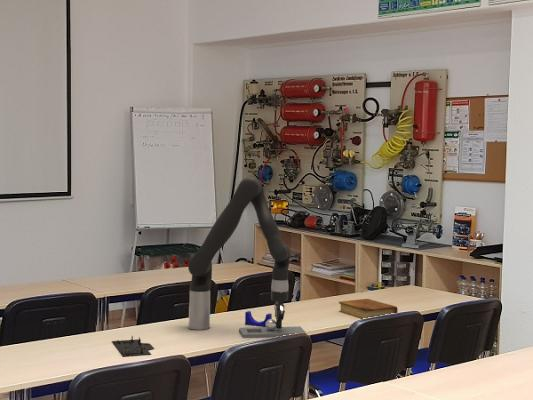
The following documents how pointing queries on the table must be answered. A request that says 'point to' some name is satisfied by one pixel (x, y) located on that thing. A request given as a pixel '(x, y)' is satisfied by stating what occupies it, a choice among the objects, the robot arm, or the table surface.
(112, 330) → the table surface
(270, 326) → the steel ball
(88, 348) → the table surface
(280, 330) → the pocket slab
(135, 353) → the circuit board
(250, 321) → the cable clip
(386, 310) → the diary
